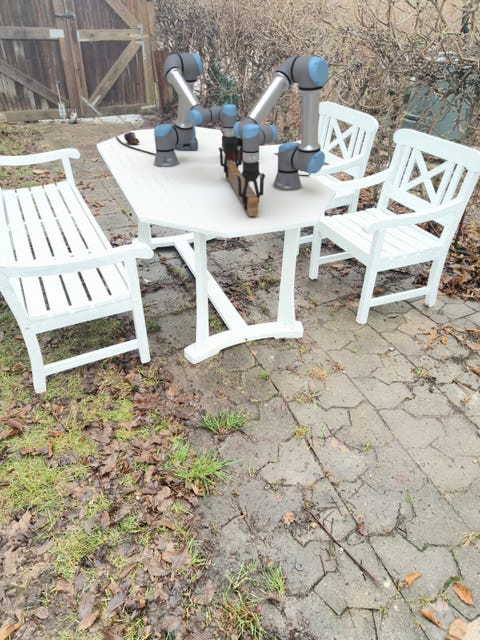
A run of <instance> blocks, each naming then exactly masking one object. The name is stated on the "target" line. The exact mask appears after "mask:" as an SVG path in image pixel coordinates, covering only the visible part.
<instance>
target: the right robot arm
mask: <svg viewBox="0 0 480 640" xmlns="http://www.w3.org/2000/svg"><path fill="white" fill-rule="evenodd" d="M329 75H330V70H329V64H328V62H327V61H326V59H324V58H323V57H319V56H316V55H315V56H312V55H311V56H309V55H294V56H291V57H289V58H288V59H285V61H283V62H282V63H281V64H280V65H279V66H278V67H277V69H275V71H274V73H273V74H272V76H271V77H272V79H271V80H270V82H269V83H268V85H267V86H266V88H265V89H263V92H262V93H261V94H260V96H259V97H258V99H257V100H256V102H255V103H254V105H252V107H251V109H250V110H249V111H248V113H247V114H246V115H245V117H244V118H243V120H241V121H238V120H237V122H236V123H235V125H234V128H233V132H234V135H235V136H236V137H237V138H240V139H243V161H242V172H241V174H240V175H237V179H238V195H239V197H242V203H243V204H244V207H243V210H244V211H245V212H246V211H247V198H246V191H247V187H248V184H249V185H250V183H251V182H252V183H253V187H254V193H255V194H256V196H257V197H258V204H260V197H261V196H263V195H264V185H265V184H264V183H265V178H266V175H265V173H264V172H260V161H259V160H260V146H264V145H268V144H271V143H273V142H275V141H277V139H278V138H279V130H278V128H277V127H276V125H273V124H267V125H262V122H263V121H264V119H265V118H266V116H267V115H268V114H269V113H270V111H271V110H272V109H273V106H274V105H275V104H276V102H277V101H278V100H279V98H280V97H281V96H282V94H283V93H284V92H285V90H288V89H289V88H290V87H291V85H293V84H298V91H299V92H300V93H301V117H300V119H301V123H300V126H301V127H300V133H301V134H300V142H298V141H297V142H296V141H295V142H294V141H293V142H292V141H291V142H285V143H281V144H280V145H279V146H278V149H277V150H278V151H277V172H276V176H275V177H274V178H275V179H274V181H273V187H274V188H276V189H278V190H282V191H283V190H284V191H294V190H298V189H300V188H301V187H302V182H301V179H300V177H308V176H309V177H310V176H311V174H313V175H315V174H317V173H319V172H320V171H321V170H322V168H323V166H324V164H325V160H326V154H325V152H324V151H322V150H321V148H322V146H321V144H320V143H319V122H320V121H319V119H320V118H319V117H320V93H321V91H323V90H324V86H325V85H326V84H327V82H328V79H329ZM299 172H304V173H307V174H299ZM242 177H244V179H245V183H244V187H243V192H242V189H241V179H242ZM258 178H259V186H258V181H257V179H258ZM242 203H241V204H242Z"/></svg>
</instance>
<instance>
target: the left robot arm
mask: <svg viewBox="0 0 480 640" xmlns="http://www.w3.org/2000/svg"><path fill="white" fill-rule="evenodd" d="M162 69H163V70H162V71H163V74H164V78H165V79H166V81H167V82H168V83H169V84H171V86H172V88H173V89H174V90H175V92H176V93H177V95H178V102H177V116H176V117H177V118H176V119H175V120H174V123H173V124H174V125H172V124H171V123H161V124H159V125H156V126H155V127H154V129H153V136H154V145H155V153H154V152H150V151H148V150H144V149H140V148H137V147H133V146H131V145H129V144H126V143H124V142H123V141H121V140H120V139H119V137H118V136H117V135H116V136H115V138H116V139H117V141H118V142H119V143H120V144H122V145H123V146H125V147H128V148H130V149H132V150H137V151H140V152H143V153H147V154H150V155H154V165H155V166H157V167H163V168H164V167H165V168H167V167H168V168H169V167H174V166H177V165H178V164H179V159H178V157H177V153H176V151H175V147H174V146H175V145H181V144H188V143H191V142H193V141H194V139H195V137H196V136H197V135H196V133H197V132H196V127H195V126H200V125H205V124H212V123H222V126H223V127H222V130H223V134H222V136H223V135H225V136H224V145H223V147H222V146H221V147H218V151H219V163H220V164H219V165H220V166H221V167H223V173H224V174H225V173H226V175H225V179H226V180H228V167H227V166H226V165H227V161H228V155H229V153H233V156H234V160H235V161H234V164H235V165H236V167H237V168H238V169H239V166H241V165H242V161H241V151H242V147H241V146H238V145H237V137H236V136H235V135H234V132H233V128H234V125H235V123H236V122H238V111H237V106H236V104H230V103H229V104H224V105H222V106H221V105H213V106H212V107H205V108H204V107H203V105H202V104H201V103H200V101H199V99H198V98H197V96H196V94H195V93H194V90H195V84H196V83H197V82H198V78H199V77H200V76H201V75H202V74H203V63H202V60H201V58H200V55H198V54H197V53H195V52H194V53H193V52H185V53H172V54H170V55H168V56H167V57H166V58H165V60H164V61H163V66H162ZM237 148H238V150H239V151H238V161H237V158H236V153H235V151H236V149H237ZM223 149H224V150H225V151H226V154H224V152H223ZM223 154H224V155H223Z"/></svg>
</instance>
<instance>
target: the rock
mask: <svg viewBox="0 0 480 640" xmlns="http://www.w3.org/2000/svg"><path fill="white" fill-rule="evenodd" d="M123 138H124V140H125V141H126V143H127V145H138V144H140V140H139V139H138V138H137V137H136V134H135V132H133V131H129V132H126V133H124V134H123Z"/></svg>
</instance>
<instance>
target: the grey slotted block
mask: <svg viewBox="0 0 480 640" xmlns="http://www.w3.org/2000/svg"><path fill="white" fill-rule="evenodd" d="M174 149H176V150H179V151H197V150H198V149H199V141H198V138H197V137H196V136H195V139H194V141H193V142H191V143H188V144H181V145H175V146H174Z"/></svg>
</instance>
